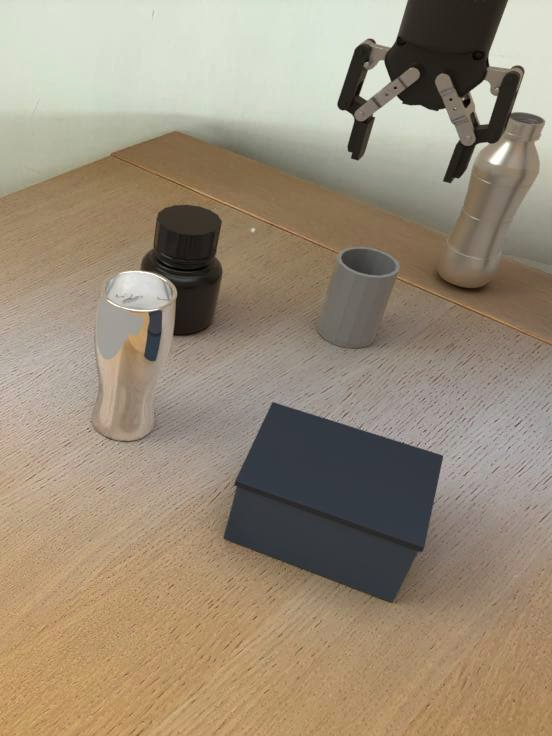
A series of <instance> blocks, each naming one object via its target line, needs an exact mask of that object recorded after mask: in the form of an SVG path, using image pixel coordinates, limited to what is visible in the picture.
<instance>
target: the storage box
mask: <svg viewBox="0 0 552 736" xmlns="http://www.w3.org/2000/svg"><path fill="white" fill-rule="evenodd" d="M443 460H444V455H443V454H440V453H436V452H433V451H430V450H427V449H424V448H420V447H417V446H414V445H412V444H411V445H410V444H407V443H405V442H401V441H399V440H395V439H392V438H389V437H386V436H382V435H380V434H376V433H373V432H369V431H367V430H363V429H361V428H358V427H353V426H351V425H347V424H344V423H341V422H337V421H336V420H335V421H334V420H331V419H329V418H325V417H322V416H319V415H316V414H312V413H309V412H307V411H302V410H299V409H296V408H293V407H291V406H287V405H283V404H280V403H277V402H273V401H272V402H271V404H270V406H269V408H268V411H267V413H266V415H265V417H264V419H263V421H262V423H261V426H260V427H259V430H258V431H257V433H256V436H255V438H254V440H253V442H252V443H251V447H250V448H249V450H248V453H247V455H246V457H245V459H244V460H243V461H244V462H243V463H242V466H241V468H240V469H239V472H238V473H237V476H236V478H235V480H234V483H233V484H234V485H233V486H234V487H236V488H235V492H234V496H233V500H232V504H231V507H230V510H229V515H228V519H227V523H226V527H225V530H224V533H223V540H227V541H229V542H231V543H235V544H237V545H240V546H242V547H245V548H246V549H247V548H248V549H250V550H253V551H255V552H258V553H260V554H262V555H266V556H268V557H271V558H273V559H276V560H279V561H281V562H284V563H287V564H289V565H291V566H294V567H297V568H300V569H301V570H302V569H303V570H305V571H308V572H310V573H312V574H315V575H318V576H320V577H323V578H326V579H329V580H331V581H333V582H336V583H339V584H342V585H344V586H346V587H349V588H352V589H354V590H357V591H360V592H362V593H365V594H367V595H370V596H373V597H375V598H378V599H381V600H383V601H386V602H389V603H391V604H393V603H394V601H395V599H396V597H397V595H398V593H399V591H400V590H401V588H402V585H403V584H404V581H405V579H406V577H407V575H408V574H409V571H410V569H411V567H412V565H413V564H414V562H415V559H416V557H417V555H418V553H422V552H423V551H424V550H425V546H426V541H427V535H428V531H429V526H430V522H431V521H430V520H431V516H432V512H433V508H434V502H435V497H436V494H437V493H436V492H437V489H438V483H439V480H440V479H439V478H440V473H441V468H442V464H443Z"/></svg>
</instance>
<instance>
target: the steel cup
mask: <svg viewBox="0 0 552 736" xmlns="http://www.w3.org/2000/svg"><path fill="white" fill-rule="evenodd" d="M400 269H401V265H400V263H399V261H398V260H397V259H396V257H394V256H392V255H391V254H390V253H387V252H385V251H383V250H380V249H377V248H372V247H368V246H352V247H346V248H344V249H342V250H340V251H339V252H338V254H337V256H336V258H335V263H334V265H333V269H332V272H331V276H330V280H329V282H328V286H327V289H326V292H325V296H324V300H323V303H322V306H321V310H320V313H319V317H318V320H317V323H316V324H317V325H316V331H317V333H318V334H319V335H320V337H321V338H323V339H324V340H325V341H327V342H329V343H330V344H332V345H335V346H338V347H342V348H347V349H362V348H366V347H368V346H370V345H372V344H373V343H374V341H375V339H376V336H377V334H378V331H379V328H380V325H381V322H382V319H383V317H384V314H385V311H386V308H387V306H388V303H389V300H390V297H391V294H392V291H393V289H394V286H395V283H396V281H397V278H398V274H399V272H400Z"/></svg>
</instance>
